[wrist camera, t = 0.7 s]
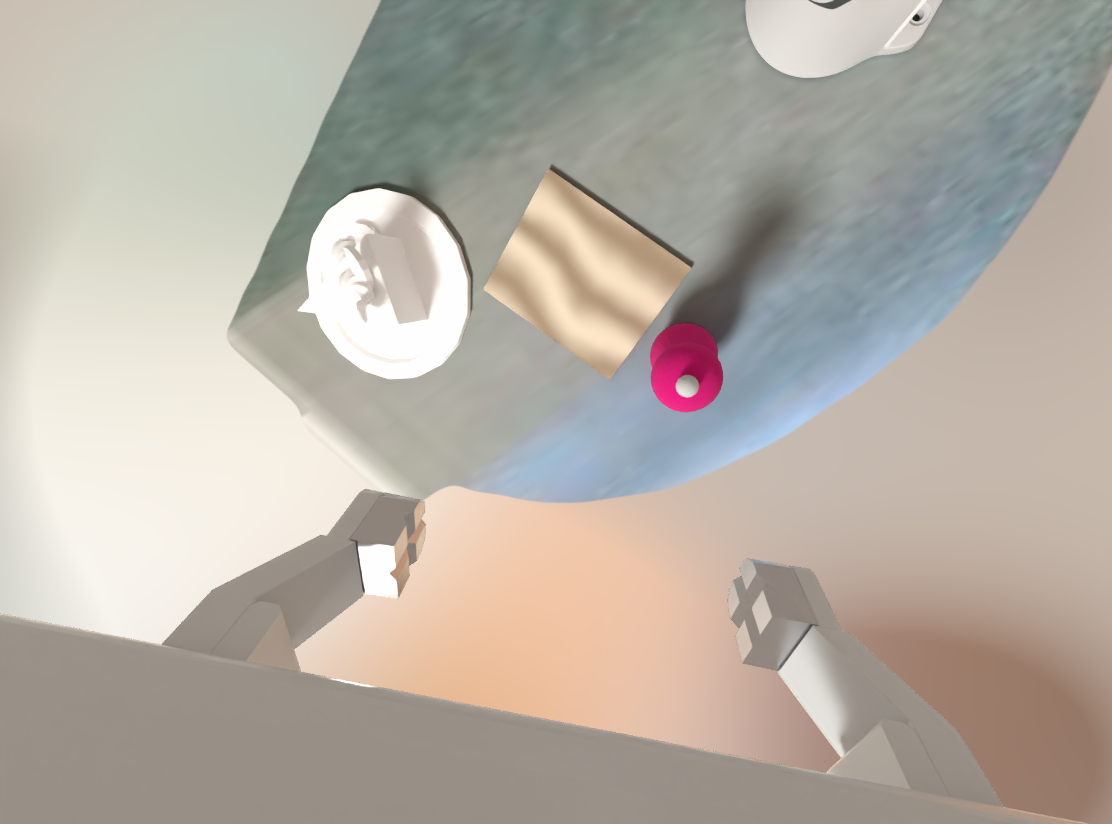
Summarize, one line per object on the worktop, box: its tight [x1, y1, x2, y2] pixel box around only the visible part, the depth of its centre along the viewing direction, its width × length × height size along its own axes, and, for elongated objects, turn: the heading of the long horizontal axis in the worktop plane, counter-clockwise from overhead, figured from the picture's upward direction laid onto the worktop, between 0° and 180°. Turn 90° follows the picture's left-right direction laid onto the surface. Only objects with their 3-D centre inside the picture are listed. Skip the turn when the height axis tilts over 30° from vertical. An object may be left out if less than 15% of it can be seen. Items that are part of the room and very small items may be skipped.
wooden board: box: [484, 169, 691, 379], centre depth 53 cm, size 16×20×1 cm
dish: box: [298, 188, 471, 379], centre depth 55 cm, size 25×25×11 cm
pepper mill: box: [650, 323, 723, 412], centre depth 43 cm, size 7×7×20 cm
